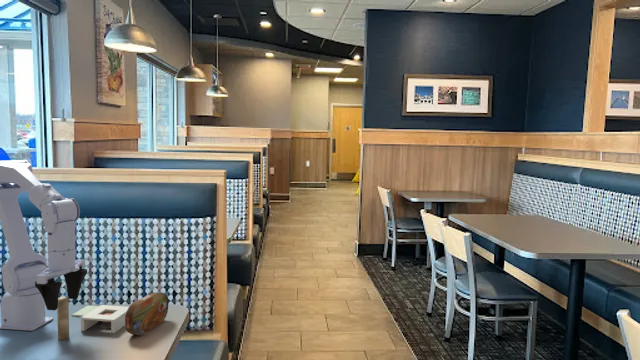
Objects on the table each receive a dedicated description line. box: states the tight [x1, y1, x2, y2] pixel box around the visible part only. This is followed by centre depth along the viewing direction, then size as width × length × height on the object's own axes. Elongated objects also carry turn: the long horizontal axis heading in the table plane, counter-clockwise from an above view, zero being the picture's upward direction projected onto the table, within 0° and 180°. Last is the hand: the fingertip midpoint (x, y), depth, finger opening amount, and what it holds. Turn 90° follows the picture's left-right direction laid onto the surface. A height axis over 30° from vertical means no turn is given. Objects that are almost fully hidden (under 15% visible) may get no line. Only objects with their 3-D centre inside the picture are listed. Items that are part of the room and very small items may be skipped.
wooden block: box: [56, 296, 70, 341], centre depth 109 cm, size 2×2×10 cm
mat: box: [71, 305, 100, 318], centre depth 126 cm, size 7×7×1 cm
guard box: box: [80, 304, 129, 334], centre depth 118 cm, size 9×9×4 cm
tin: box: [124, 291, 169, 336], centre depth 116 cm, size 15×3×8 cm, turn 165°
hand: (63, 304), depth 109 cm, fingers open, 7 cm apart
